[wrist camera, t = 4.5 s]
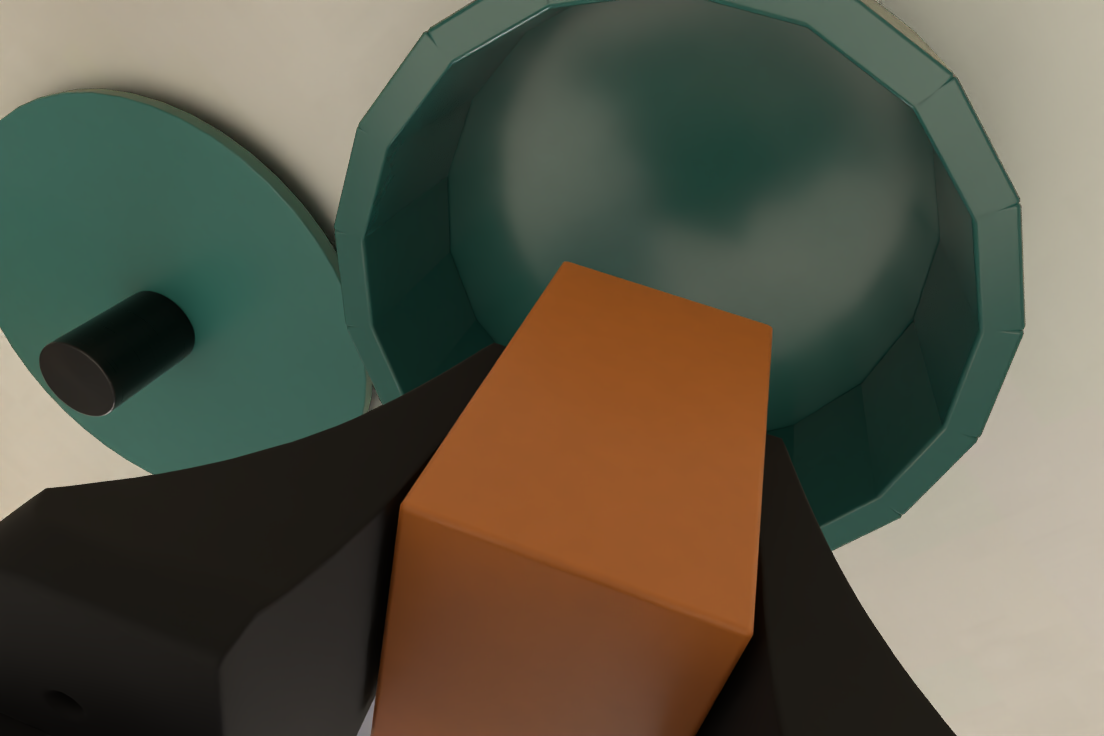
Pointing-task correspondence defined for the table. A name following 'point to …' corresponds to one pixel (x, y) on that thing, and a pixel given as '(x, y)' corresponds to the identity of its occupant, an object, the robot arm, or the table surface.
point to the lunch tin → (704, 213)
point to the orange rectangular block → (585, 526)
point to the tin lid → (167, 283)
